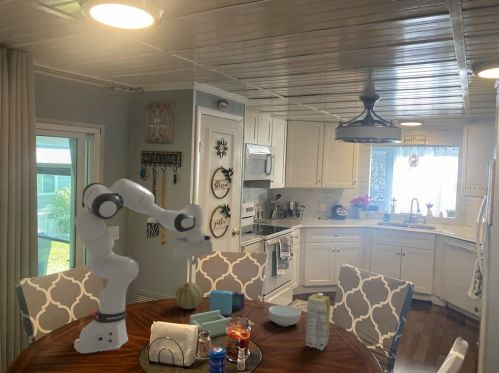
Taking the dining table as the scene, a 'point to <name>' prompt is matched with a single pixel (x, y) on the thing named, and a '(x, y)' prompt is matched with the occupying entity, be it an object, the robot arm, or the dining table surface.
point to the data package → (221, 302)
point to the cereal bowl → (284, 315)
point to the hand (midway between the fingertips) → (192, 264)
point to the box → (210, 322)
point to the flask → (237, 300)
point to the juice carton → (317, 321)
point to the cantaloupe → (188, 295)
